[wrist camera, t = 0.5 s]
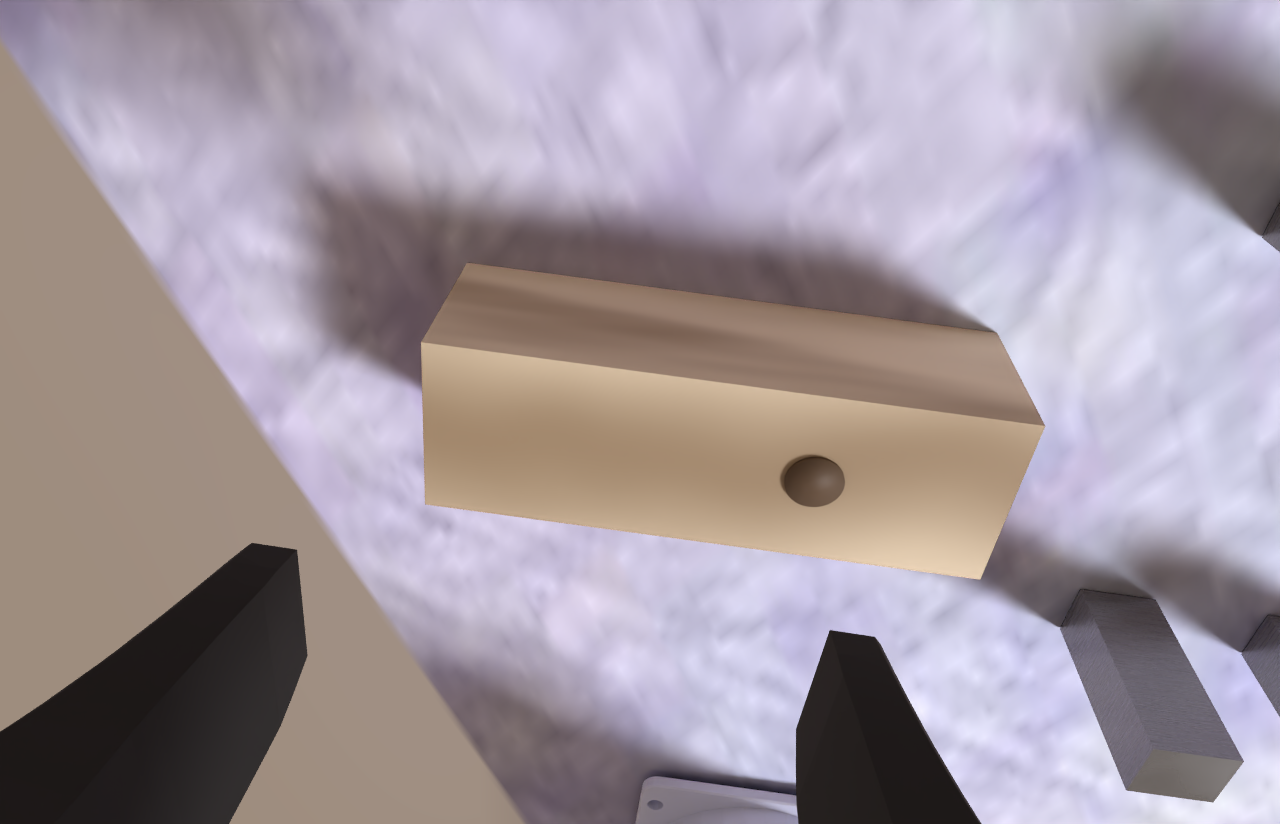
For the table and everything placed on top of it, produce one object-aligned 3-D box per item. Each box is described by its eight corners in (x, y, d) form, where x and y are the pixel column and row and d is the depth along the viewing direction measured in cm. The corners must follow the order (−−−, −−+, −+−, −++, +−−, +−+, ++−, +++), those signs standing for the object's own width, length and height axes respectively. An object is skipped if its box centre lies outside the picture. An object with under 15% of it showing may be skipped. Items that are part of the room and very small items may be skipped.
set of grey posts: (1132, 639, 25) (1213, 802, 21) (1059, 628, 25) (1125, 790, 21) (1399, 180, 18) (1600, 289, 14) (1297, 166, 18) (1468, 271, 14)
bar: (943, 468, 23) (981, 582, 20) (469, 404, 23) (424, 507, 20) (994, 328, 21) (1046, 428, 17) (469, 258, 21) (419, 344, 18)
